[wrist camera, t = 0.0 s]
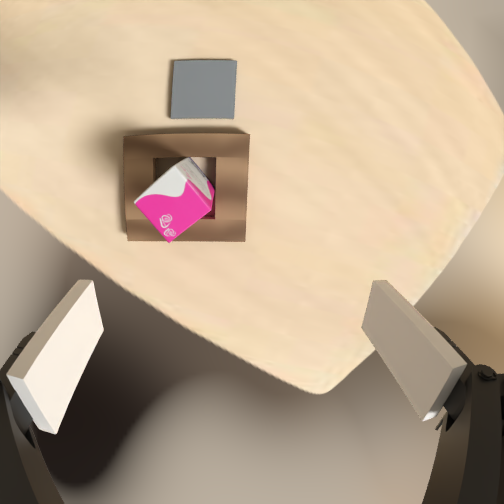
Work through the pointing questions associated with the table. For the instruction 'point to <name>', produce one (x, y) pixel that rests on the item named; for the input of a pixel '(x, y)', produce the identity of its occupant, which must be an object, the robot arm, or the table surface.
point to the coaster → (203, 89)
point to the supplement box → (177, 199)
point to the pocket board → (227, 182)
